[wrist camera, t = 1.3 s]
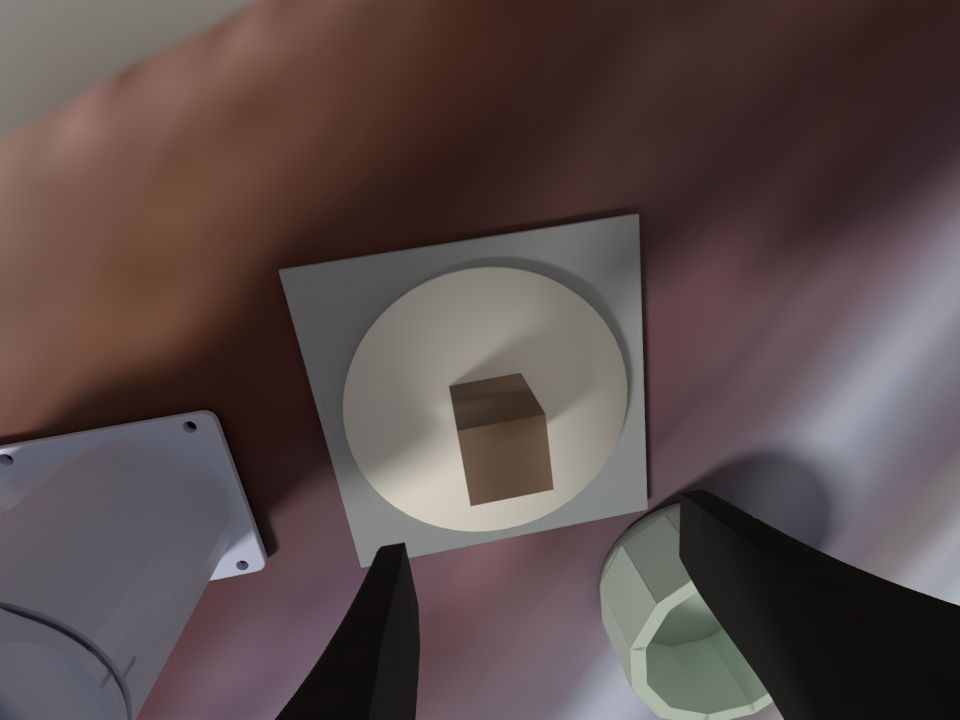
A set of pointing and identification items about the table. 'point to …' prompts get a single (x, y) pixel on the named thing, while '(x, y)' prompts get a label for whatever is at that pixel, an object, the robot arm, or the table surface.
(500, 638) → the table surface
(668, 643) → the bowl
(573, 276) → the mat
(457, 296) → the lid
